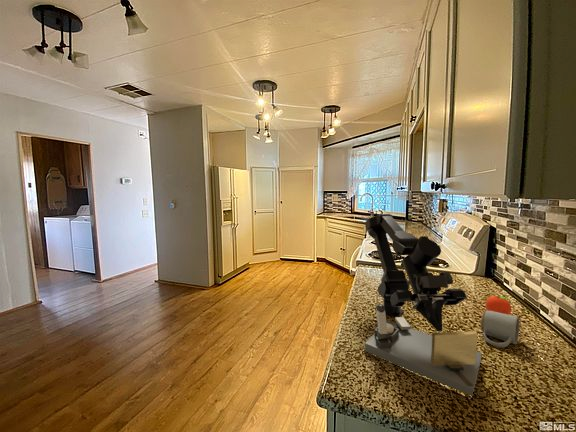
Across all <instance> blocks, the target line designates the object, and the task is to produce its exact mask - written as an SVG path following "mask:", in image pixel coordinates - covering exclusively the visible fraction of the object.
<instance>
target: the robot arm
mask: <svg viewBox="0 0 576 432" xmlns="http://www.w3.org/2000/svg"><path fill="white" fill-rule="evenodd" d="M364 226H365V229H366V231H367V234H368V235H369V236H370V237H371V238H372V239H373V240H374V243H375V246H376V247H375V248H376V250H377V253H378V257H379V260H380V264H381V268H382V273H383V274H382V276H381V279H380V283H379V285H378V286H377V294H379V296H380V297H381V298H382V299H383V304H382V305H383V306H384V308H385V314H386V315H387V316H391V317H394V318H395V317H401V315H402V313H404V309H403V308H402V307H403V306H405V303H406V302H409V303H410V302H413V306H412V309H413V310H416V311H417V312H418V313H420V314H421V315H422V316H423V317H424V319H426V320H427V322H428V323H429V324H430V325H431V326H432V327H433V328H434V329H435V330H436V331H437V332H442V331H443V307H444V306H457V305H458V304H461V303H462V302H463V301H465V300H467V299H468V296H467V294H466V292H465V290H463V289H461V288H449V285H453V284H454V279H453V276H452V275H451V273H450V271H442V272H439V273H438V274H439V275H437V274H436V275H434V274H433V273H432V272H429V271H428V268H427V267H429V266H431V265H432V263H433V262H434V261H435V260H436V259H437V258H438V257H439V256H440V254H441V253H442V248H441V246H440V245H439V244H438V243H437V242H435V241H434V240H432V239H430V238H429V237H428V236H427V235H426V236H423V235H422V236H421V235H420V236H419V238H418V237H417V236H415V235H414V234H413V233H409V232H407V231H405V230H404V229H403V228H402V227H401V225H400V224H399V223H398V222H397V221H396V220H395V219H394V216H393V215H392V214H391V213H379V214H377V215H375V216H372V217H369V218H367V219H366V220H365V223H364ZM388 237H389V238H390V240H391V241H392V244H391V246H390V243H389V239H388ZM391 247H392V249H391ZM392 250H393V251H394V253H395V254H396V255H397V256H405V257H404V258H402V261H401V263H400V267H401V268H404V270H405V271H404V270H402V269H401V270H400V269H399V268H398V267H397V264H396V261H395V258H394V254H393V252H392ZM405 273H406V274H405ZM406 276H407V277H406ZM407 278H408V279H407ZM410 286H411V289H412V291H411V290H410ZM443 288H444V289H446V290H444V291H443V292H441V293H440V291H442V289H443ZM438 292H439V293H438ZM413 293H414V294H413Z"/></svg>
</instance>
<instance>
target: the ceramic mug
mask: <svg viewBox="0 0 576 432" xmlns="http://www.w3.org/2000/svg"><path fill="white" fill-rule="evenodd" d="M480 330H481V332H482V333H483V338H484V341H485V342H486V343H488V345H490V344H491V345H490V346H492V345H494V346H493V347H495V346H496V348H505V347H508V346H509V345H510V344H513V345H514V346H515V345H517V344H518V341H519V335H520V318H519V316H517V315H513V314H512V315H510V314H509V315H507V314H503V313H498V312H494V311H488V310H483V312H482V314H481V318H480ZM487 336H489V337H491V338H495V339H498V340H501V341H504V342H495V341H492V340H490V339H489V338H488V337H487Z"/></svg>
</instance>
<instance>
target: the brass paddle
mask: <svg viewBox="0 0 576 432" xmlns="http://www.w3.org/2000/svg"><path fill="white" fill-rule="evenodd" d="M431 336H432V351H431V363H432V365H433V366H440V365H446V366H447V367H448V368H449V369H450V370H451V371H456V370H464V367H463V366H461V365H467V364H475V361H476V351H477V345H478V344H477V343H478V333H477V332H476V331H451V332H450V331H449V332H448V331H447V332H445V331H444V332H432V335H431Z"/></svg>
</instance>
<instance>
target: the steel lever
mask: <svg viewBox="0 0 576 432" xmlns="http://www.w3.org/2000/svg"><path fill="white" fill-rule="evenodd" d="M375 309H376V310H375V311H376V321H377V327H378V332H379V333H377V336H378V339H379V340H389V339H390V336H389V333H388V332H387V323H386V322H387V316H386V315H387V314H385V308H384V306H383V304H377V305H376V308H375Z"/></svg>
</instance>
